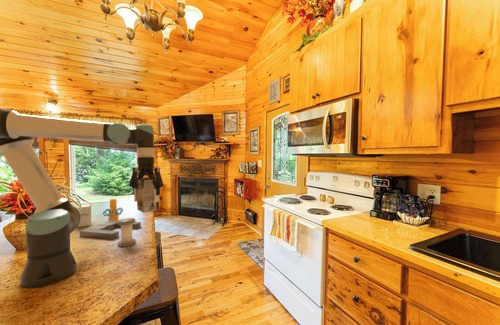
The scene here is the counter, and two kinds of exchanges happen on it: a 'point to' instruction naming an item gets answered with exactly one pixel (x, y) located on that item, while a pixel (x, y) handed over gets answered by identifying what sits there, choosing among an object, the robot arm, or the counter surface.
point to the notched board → (105, 230)
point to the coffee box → (145, 194)
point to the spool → (126, 232)
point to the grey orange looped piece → (113, 211)
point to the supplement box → (85, 215)
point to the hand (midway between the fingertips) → (146, 201)
